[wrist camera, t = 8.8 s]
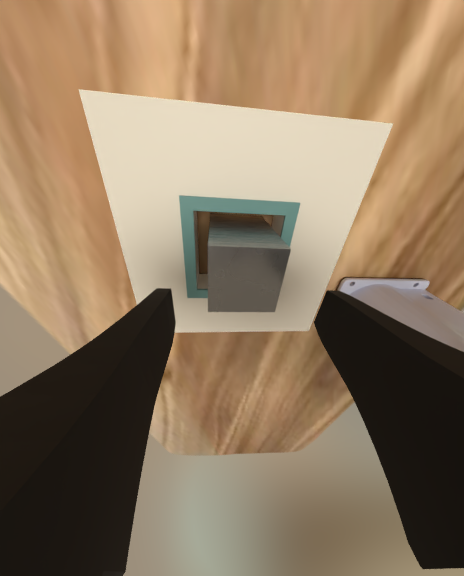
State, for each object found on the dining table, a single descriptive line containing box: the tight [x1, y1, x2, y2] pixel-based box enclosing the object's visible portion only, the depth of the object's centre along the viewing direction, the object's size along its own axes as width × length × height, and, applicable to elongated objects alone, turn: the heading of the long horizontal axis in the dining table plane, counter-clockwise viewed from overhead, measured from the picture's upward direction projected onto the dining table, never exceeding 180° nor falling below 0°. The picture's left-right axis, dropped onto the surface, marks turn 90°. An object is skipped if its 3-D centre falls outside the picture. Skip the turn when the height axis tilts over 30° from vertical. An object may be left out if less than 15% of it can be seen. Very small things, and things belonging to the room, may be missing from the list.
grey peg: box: [208, 213, 291, 312], centre depth 13 cm, size 4×4×7 cm
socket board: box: [79, 89, 393, 332], centre depth 15 cm, size 16×16×3 cm
